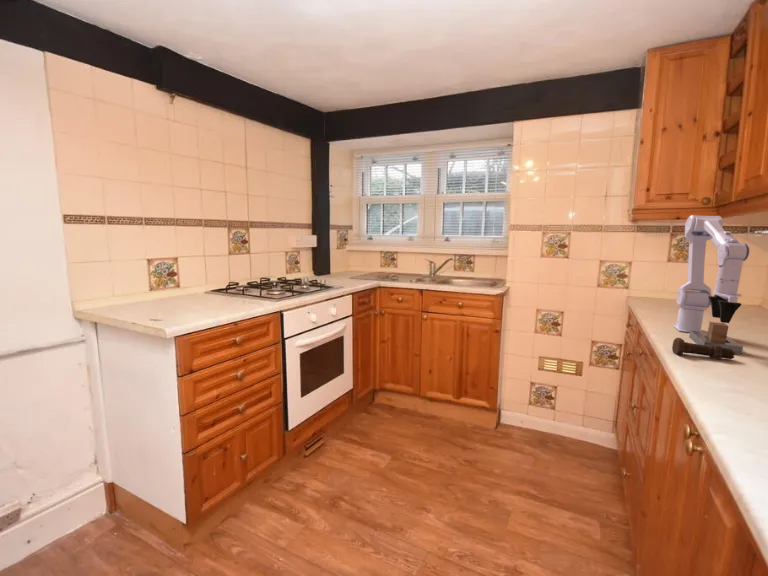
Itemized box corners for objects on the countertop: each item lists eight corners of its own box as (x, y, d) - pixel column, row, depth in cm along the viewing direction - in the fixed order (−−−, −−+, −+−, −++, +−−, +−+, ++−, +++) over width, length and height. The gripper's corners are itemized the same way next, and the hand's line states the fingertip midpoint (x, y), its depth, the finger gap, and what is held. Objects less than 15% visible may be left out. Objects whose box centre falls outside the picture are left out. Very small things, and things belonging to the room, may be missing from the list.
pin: (705, 344, 137) (709, 321, 136) (719, 346, 136) (724, 323, 134) (709, 347, 134) (713, 324, 132) (724, 349, 132) (728, 326, 131)
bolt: (731, 366, 121) (673, 358, 126) (726, 354, 125) (670, 346, 130) (740, 353, 118) (680, 345, 122) (734, 341, 121) (676, 334, 126)
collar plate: (689, 336, 146) (690, 330, 145) (723, 341, 142) (724, 334, 141) (703, 349, 131) (704, 342, 131) (741, 354, 127) (743, 346, 127)
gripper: (753, 284, 123) (744, 326, 125) (734, 278, 136) (727, 316, 138) (724, 281, 125) (716, 323, 128) (709, 276, 139) (702, 314, 141)
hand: (720, 319), depth 133 cm, fingers open, 7 cm apart
